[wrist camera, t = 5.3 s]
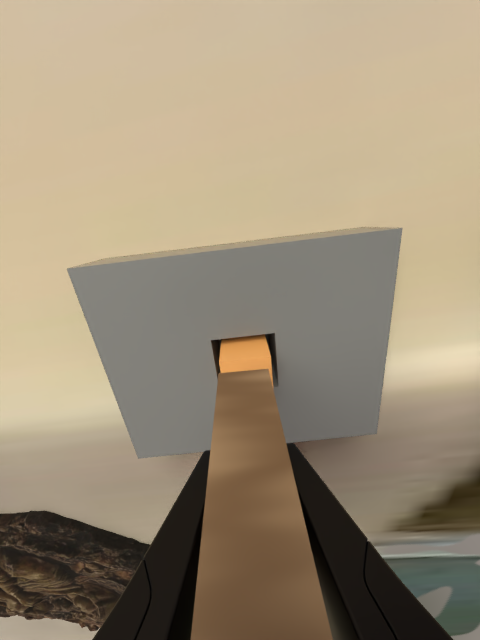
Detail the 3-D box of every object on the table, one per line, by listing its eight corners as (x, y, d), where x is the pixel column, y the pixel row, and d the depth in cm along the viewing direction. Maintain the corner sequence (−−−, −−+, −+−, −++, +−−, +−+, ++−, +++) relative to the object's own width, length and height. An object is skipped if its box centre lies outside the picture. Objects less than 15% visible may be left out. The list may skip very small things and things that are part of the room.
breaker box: (363, 227, 18) (402, 228, 14) (352, 397, 24) (376, 433, 20) (104, 258, 19) (66, 268, 15) (154, 418, 25) (138, 458, 20)
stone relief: (-68, 532, 24) (206, 592, 30) (-25, 488, 28) (209, 548, 34) (-75, 640, 33) (140, 671, 38) (-41, 593, 37) (149, 628, 42)
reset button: (263, 330, 18) (270, 356, 15) (266, 365, 20) (274, 398, 16) (222, 334, 19) (218, 362, 15) (227, 370, 20) (226, 403, 16)
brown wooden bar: (268, 368, 12) (407, 957, 2) (270, 408, 12) (377, 948, 3) (218, 373, 12) (155, 972, 2) (224, 412, 12) (195, 958, 3)
